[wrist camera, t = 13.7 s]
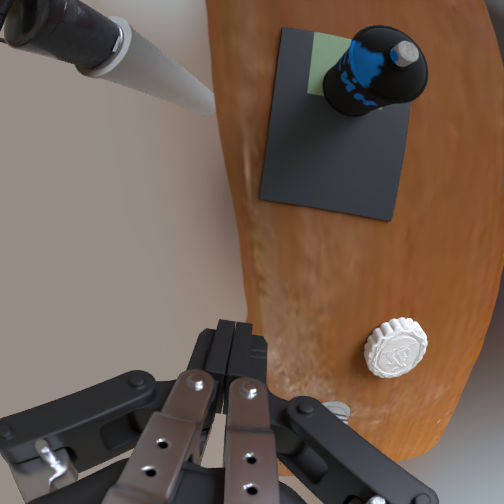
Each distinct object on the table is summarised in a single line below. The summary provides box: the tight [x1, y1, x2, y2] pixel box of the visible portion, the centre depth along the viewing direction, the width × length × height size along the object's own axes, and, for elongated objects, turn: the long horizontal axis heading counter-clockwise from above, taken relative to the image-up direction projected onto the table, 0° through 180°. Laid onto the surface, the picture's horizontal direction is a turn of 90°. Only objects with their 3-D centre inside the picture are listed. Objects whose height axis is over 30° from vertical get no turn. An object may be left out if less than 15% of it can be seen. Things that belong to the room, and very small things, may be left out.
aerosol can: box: [322, 25, 428, 117], centre depth 27 cm, size 8×8×20 cm
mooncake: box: [364, 317, 428, 378], centre depth 48 cm, size 12×12×4 cm
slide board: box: [259, 27, 411, 221], centre depth 38 cm, size 20×26×1 cm
